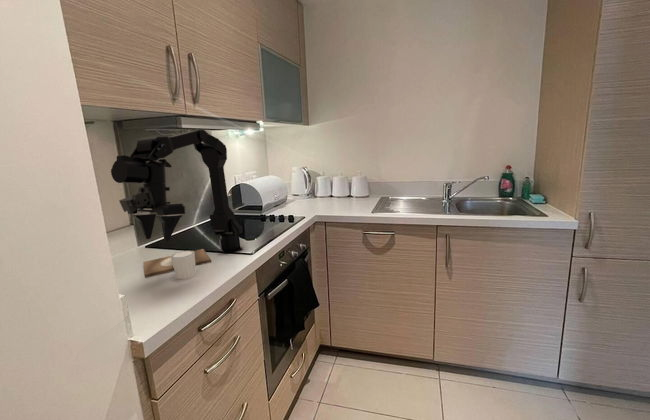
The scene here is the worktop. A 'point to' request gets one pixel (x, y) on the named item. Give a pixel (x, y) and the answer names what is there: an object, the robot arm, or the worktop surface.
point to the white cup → (184, 264)
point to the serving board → (166, 264)
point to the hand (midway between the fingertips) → (157, 240)
